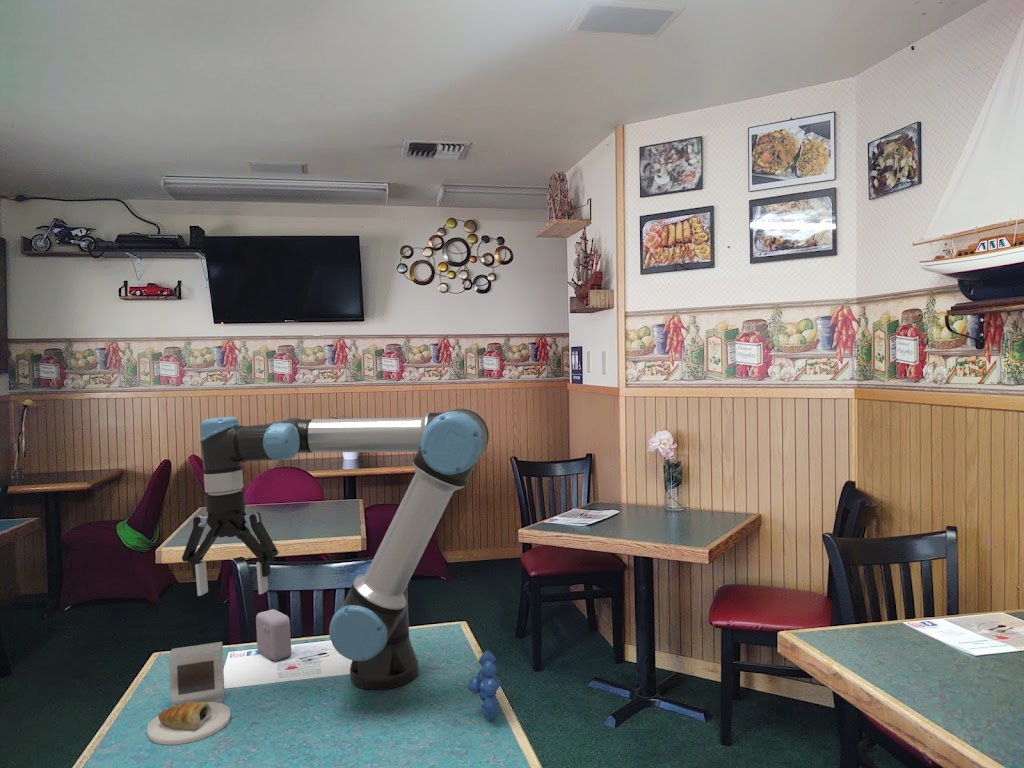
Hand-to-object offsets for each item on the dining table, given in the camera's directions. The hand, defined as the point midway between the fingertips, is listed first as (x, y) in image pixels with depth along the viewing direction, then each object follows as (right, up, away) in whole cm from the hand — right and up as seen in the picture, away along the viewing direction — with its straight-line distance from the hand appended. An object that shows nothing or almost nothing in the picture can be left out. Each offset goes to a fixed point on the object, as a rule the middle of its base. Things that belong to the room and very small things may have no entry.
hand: (233, 593), depth 155 cm
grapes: (+53, -22, -9) cm, 58 cm away
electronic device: (0, -23, +26) cm, 35 cm away
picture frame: (-8, -23, +2) cm, 25 cm away
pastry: (-5, -23, -10) cm, 25 cm away
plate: (-5, -24, -8) cm, 26 cm away
